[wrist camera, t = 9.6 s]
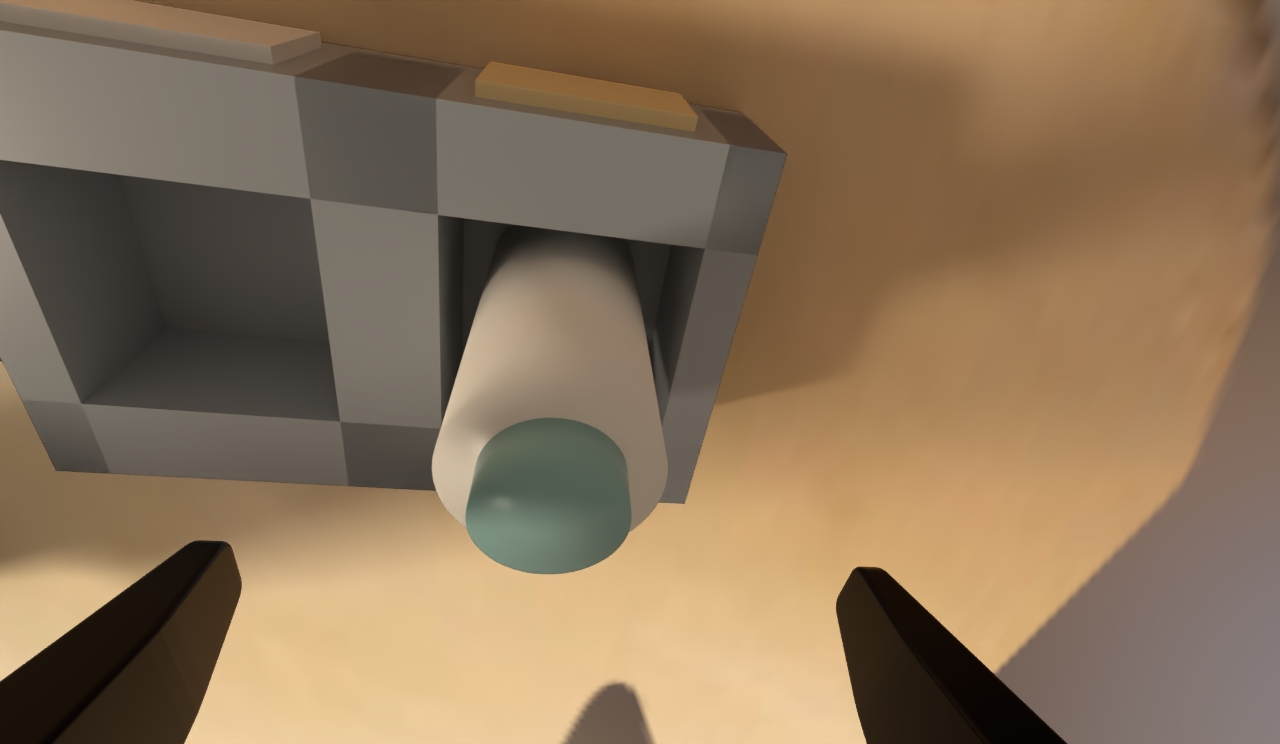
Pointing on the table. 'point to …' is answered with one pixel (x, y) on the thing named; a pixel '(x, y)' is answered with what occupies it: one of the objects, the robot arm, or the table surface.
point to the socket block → (326, 237)
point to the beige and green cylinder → (553, 407)
